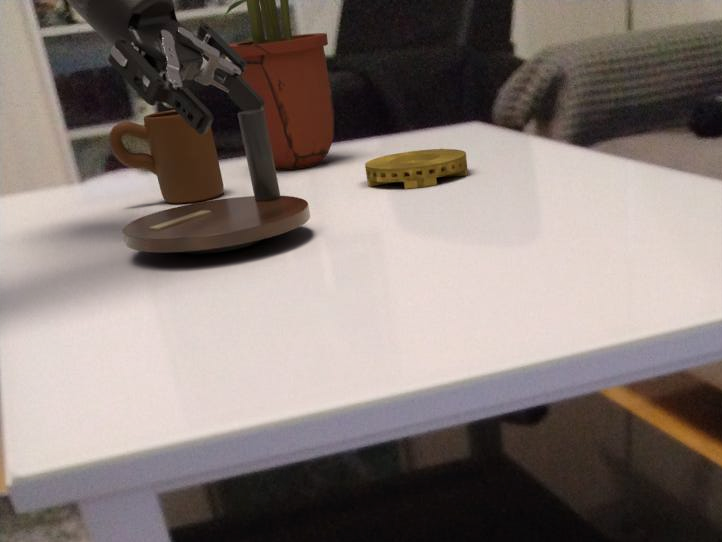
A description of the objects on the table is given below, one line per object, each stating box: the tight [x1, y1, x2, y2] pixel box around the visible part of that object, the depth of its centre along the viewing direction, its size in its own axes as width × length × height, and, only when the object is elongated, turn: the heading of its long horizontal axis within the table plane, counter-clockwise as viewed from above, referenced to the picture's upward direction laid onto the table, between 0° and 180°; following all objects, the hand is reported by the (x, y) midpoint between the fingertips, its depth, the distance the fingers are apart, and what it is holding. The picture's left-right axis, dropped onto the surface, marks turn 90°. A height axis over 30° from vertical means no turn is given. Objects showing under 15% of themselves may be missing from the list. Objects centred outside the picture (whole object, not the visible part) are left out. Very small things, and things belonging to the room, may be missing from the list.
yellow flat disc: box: [364, 148, 469, 190], centre depth 121 cm, size 12×12×2 cm
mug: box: [108, 109, 225, 204], centre depth 122 cm, size 12×8×9 cm, turn 107°
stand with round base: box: [121, 109, 311, 255], centre depth 98 cm, size 18×18×11 cm
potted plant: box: [224, 0, 341, 171], centre depth 127 cm, size 17×16×35 cm
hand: (235, 119), depth 101 cm, fingers open, 8 cm apart
